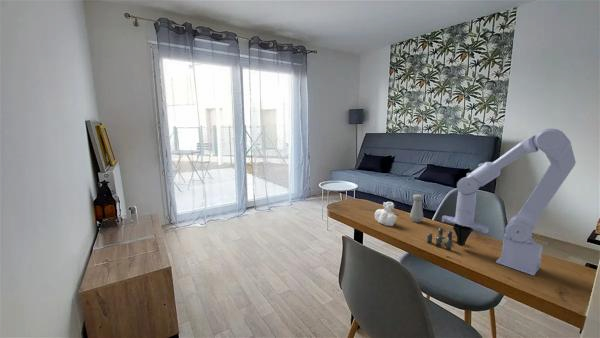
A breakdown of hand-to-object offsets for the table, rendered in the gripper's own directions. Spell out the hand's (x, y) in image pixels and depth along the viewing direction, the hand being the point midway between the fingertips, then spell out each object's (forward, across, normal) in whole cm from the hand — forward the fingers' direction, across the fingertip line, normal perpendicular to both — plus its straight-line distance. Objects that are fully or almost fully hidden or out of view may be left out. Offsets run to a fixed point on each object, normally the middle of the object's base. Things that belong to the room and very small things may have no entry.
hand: (461, 245), depth 92 cm
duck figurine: (+2, +32, 0) cm, 32 cm away
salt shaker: (+2, +25, -14) cm, 29 cm away
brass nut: (+2, +7, 0) cm, 7 cm away
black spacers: (+1, +6, 0) cm, 6 cm away
